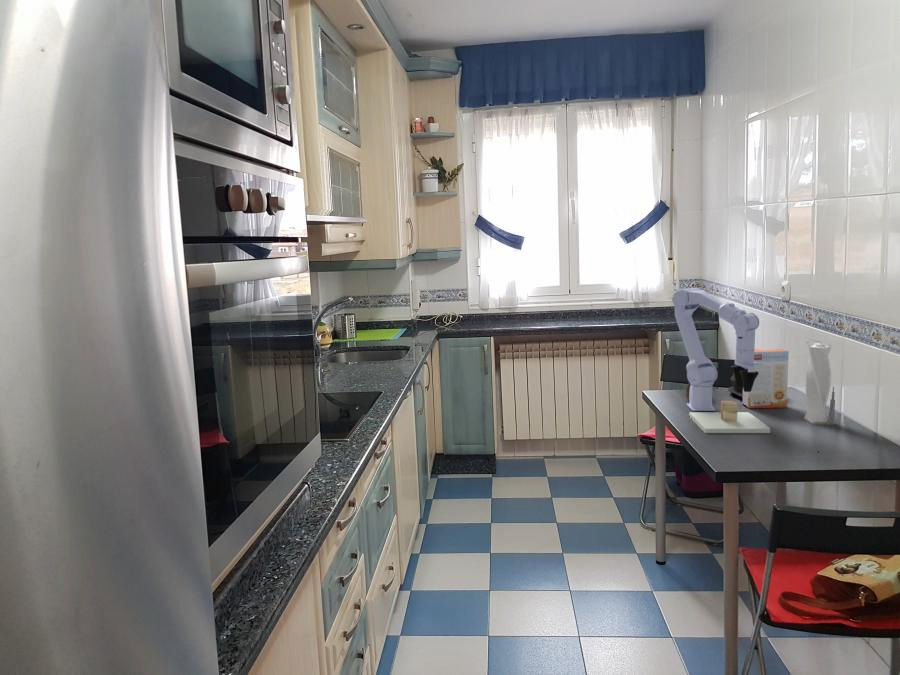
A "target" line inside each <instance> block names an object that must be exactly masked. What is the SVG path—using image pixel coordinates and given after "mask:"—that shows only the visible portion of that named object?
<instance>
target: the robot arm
mask: <svg viewBox="0 0 900 675" xmlns="http://www.w3.org/2000/svg"><path fill="white" fill-rule="evenodd" d="M671 300H672V304H673V307H674V318H675V320H676V323H677V327H678V329H679V333H680V335H681V339H682V341H683V344H684V348H685V351H686V354H687V357H688V363H687V364H686V366H685V368H686V377H687V378H686V379H687V380H688V383H689V382H690V385H691V386H690V390H689V401H688V403H686V406H687V407H688V408H689V409H691V411H692V412H716V408H714V407H713V385H714V383H715V382H716V380H717V379H718V375H719V374H718V370H717V368H716V366H714V364H713V361H712V360H711V359H710V358H708V357H707V356H706V355H705V352H704V349H703V346H702V343H701V341H700V338H699V334H698V331H697V329H696V325H695V322H694V319H693V313H694V312H695V311H696V310H697V309H698V307H700V305H702V306H704V307H706V308H708V309H710V310H712V311H714V312H716V313H717V314H718V318H720V319H721V320H724V321H725V322H727V323H728V324H730V325H732V327H733V329H734V331H735V336H736V337H735V338H736V343H735V344H736V345H735V358H734V365H731V366H730V368H731V370H732V373H733V374H734V376H735V381H736V386H737V387H743V389H744V392H751V390H752V387H753V383H754V381H755V379H756V377H757V375H758V373H759V372H757V371H755V366H754V365H757V364H758V363H757V362H754V349H755V348H756V347H755V345H756V341H755V340H756V330H757V329H758V328H759V326H760V319H759V317H758V316H757V315H756V313H754V312H749V313H747V311H746V310H744V309H740V308H739V307H736V306H735V303H733V302H730V303H729V302H726V303H723V302H722V301H719V300H718V299H716V298H715V297H713V296H711V294H709V293H707V292H706V290H704V289H702V288H700V287H692V288H678V289H676V290H675V292H674V294H673V295H672V297H671Z"/></svg>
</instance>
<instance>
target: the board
mask: <svg viewBox="0 0 900 675" xmlns="http://www.w3.org/2000/svg"><path fill="white" fill-rule="evenodd" d="M688 416H690V417H689V418H690V419H691V418H692V419H691V420H692V421H693V422H694V423H695V424H696V426H698V428H699V429H701V431H703V433H704V434H771V428H770V427H769V426H767V425H766V424H765V423H764V422H762V421H761V420H760V419H759V418H757V417H756V416H754V415H753V414H752V413H750V412H748V411H747V412H746V411H745V412H744V411H743V412H742V411H741V412H740V411H737V422H724V421H723V420H722V419H721V411H720V412H719V411H718V412H717V411H692V412H689V413H688Z"/></svg>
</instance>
